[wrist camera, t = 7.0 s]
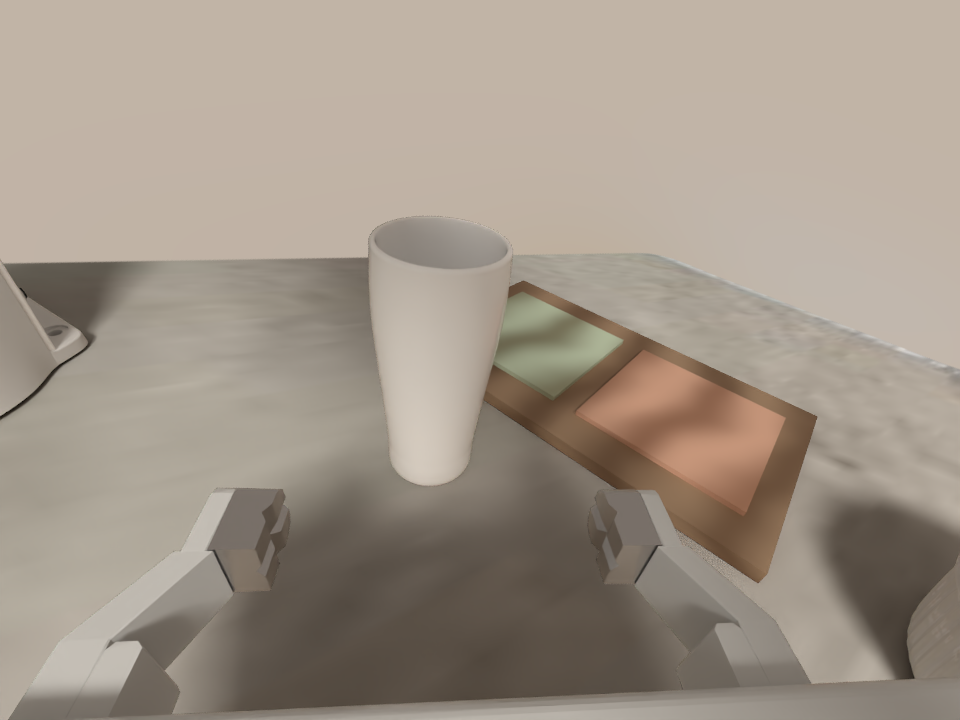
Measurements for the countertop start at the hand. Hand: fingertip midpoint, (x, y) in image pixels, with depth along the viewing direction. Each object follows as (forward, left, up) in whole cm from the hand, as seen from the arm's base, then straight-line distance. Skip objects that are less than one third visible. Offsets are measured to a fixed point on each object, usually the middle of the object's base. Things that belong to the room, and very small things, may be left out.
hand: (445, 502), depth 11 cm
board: (-5, +25, -13) cm, 28 cm away
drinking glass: (-9, +9, -13) cm, 18 cm away
